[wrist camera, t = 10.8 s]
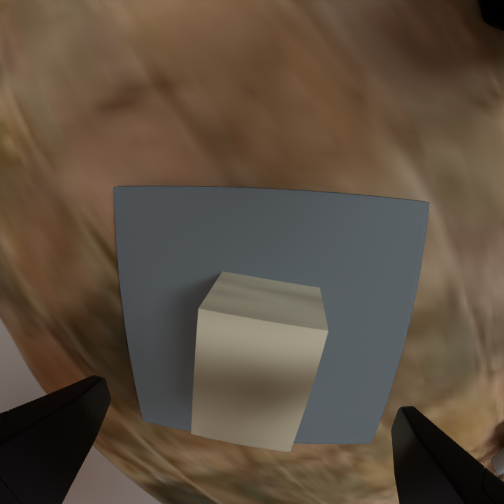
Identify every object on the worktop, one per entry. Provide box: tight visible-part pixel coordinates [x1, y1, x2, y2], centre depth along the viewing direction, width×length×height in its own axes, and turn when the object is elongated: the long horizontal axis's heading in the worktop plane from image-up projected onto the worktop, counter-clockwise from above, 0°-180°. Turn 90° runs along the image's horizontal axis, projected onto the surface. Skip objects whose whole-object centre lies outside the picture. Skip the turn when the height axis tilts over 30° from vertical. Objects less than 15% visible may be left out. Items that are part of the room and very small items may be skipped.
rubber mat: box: [114, 186, 429, 444], centre depth 19 cm, size 18×18×1 cm
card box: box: [191, 271, 328, 452], centre depth 17 cm, size 8×6×5 cm
